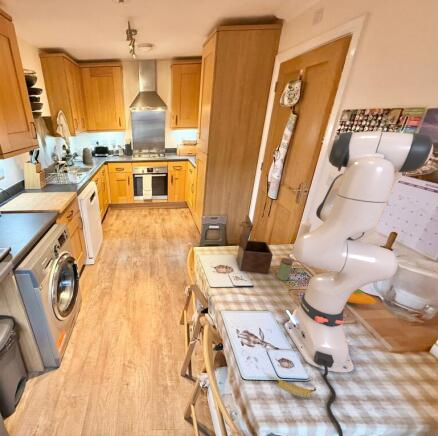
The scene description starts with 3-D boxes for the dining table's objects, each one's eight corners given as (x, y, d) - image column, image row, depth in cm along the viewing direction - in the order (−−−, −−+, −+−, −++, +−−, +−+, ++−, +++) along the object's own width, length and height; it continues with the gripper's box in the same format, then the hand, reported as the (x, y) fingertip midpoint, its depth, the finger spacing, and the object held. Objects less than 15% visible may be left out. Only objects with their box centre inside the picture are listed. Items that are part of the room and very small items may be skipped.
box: (262, 260, 129) (266, 241, 124) (268, 273, 118) (272, 254, 113) (237, 257, 132) (239, 239, 127) (240, 270, 121) (243, 251, 116)
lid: (248, 215, 121) (238, 213, 121) (253, 225, 109) (242, 223, 110) (240, 239, 127) (231, 237, 128) (244, 251, 116) (234, 249, 116)
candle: (306, 261, 127) (319, 220, 117) (293, 261, 127) (305, 220, 117) (299, 254, 134) (310, 215, 123) (286, 254, 134) (297, 215, 124)
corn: (319, 275, 104) (376, 287, 96) (314, 288, 107) (369, 300, 100) (322, 287, 98) (384, 300, 90) (317, 299, 101) (376, 313, 94)
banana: (276, 393, 68) (279, 384, 66) (274, 384, 70) (276, 376, 68) (314, 401, 65) (318, 393, 64) (311, 392, 68) (315, 384, 66)
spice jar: (289, 281, 113) (294, 264, 108) (278, 279, 114) (282, 263, 109) (286, 274, 117) (290, 258, 113) (275, 273, 118) (279, 257, 114)
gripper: (350, 261, 95) (317, 278, 101) (325, 237, 113) (298, 252, 119) (341, 251, 94) (308, 268, 100) (317, 229, 112) (291, 244, 118)
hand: (303, 259), depth 110 cm, fingers open, 8 cm apart
